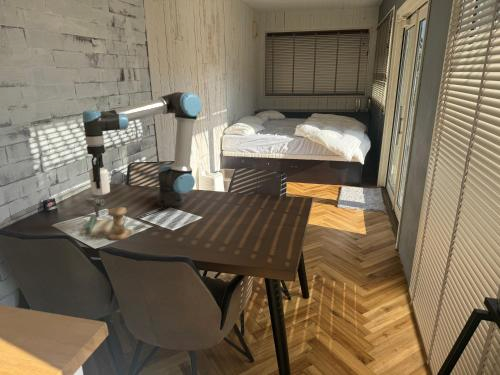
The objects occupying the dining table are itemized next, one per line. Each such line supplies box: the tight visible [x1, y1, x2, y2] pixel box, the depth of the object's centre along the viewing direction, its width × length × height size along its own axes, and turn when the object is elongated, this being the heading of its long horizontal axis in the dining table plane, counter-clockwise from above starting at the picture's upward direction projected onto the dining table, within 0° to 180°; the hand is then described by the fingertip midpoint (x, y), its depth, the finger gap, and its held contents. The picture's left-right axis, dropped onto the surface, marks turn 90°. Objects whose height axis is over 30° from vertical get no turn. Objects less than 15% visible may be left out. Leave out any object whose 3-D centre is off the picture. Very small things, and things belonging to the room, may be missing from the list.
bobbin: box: [107, 206, 132, 241], centre depth 162 cm, size 10×10×13 cm
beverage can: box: [88, 167, 111, 196], centre depth 164 cm, size 8×8×12 cm
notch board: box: [84, 214, 125, 237], centre depth 172 cm, size 16×16×4 cm
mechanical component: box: [85, 197, 106, 218], centre depth 185 cm, size 3×10×10 cm, turn 79°
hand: (101, 191), depth 166 cm, fingers closed on beverage can, 8 cm apart
